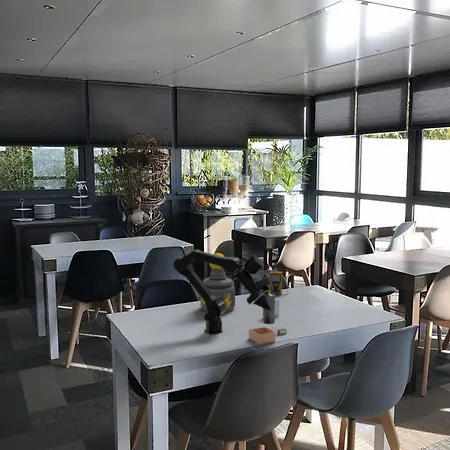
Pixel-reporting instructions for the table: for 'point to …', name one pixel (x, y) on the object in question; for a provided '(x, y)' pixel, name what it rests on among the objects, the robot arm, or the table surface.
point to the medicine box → (276, 307)
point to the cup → (262, 335)
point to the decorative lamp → (220, 287)
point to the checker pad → (280, 331)
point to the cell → (270, 315)
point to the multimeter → (276, 282)
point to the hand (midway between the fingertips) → (271, 308)
